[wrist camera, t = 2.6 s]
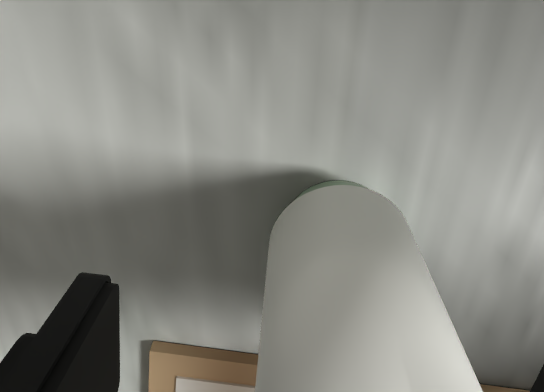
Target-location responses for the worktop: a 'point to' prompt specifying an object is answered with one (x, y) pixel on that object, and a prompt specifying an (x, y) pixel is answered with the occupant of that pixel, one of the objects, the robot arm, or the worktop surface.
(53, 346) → the robot arm
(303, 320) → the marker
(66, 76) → the worktop surface
